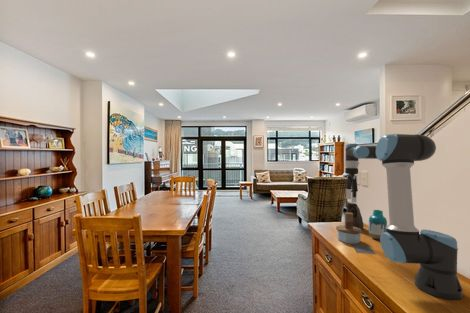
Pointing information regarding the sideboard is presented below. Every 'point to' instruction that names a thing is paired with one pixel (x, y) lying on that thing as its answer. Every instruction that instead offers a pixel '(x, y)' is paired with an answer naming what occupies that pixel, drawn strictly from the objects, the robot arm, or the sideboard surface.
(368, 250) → the mat
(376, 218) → the vase
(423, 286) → the robot arm
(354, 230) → the lid
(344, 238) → the bowl
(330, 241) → the sideboard surface
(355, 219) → the owl
